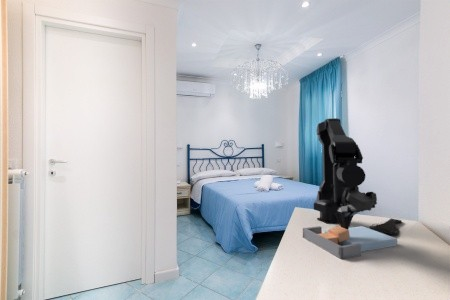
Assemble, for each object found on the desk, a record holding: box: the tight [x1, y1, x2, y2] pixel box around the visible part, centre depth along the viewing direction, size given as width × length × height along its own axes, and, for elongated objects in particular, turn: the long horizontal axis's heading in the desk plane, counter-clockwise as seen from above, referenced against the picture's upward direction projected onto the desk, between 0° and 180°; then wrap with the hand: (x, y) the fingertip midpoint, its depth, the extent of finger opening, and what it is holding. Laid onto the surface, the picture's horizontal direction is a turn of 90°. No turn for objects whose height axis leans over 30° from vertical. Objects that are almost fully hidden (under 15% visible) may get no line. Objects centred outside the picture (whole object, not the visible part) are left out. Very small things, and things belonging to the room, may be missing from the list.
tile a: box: [327, 225, 350, 242], centre depth 70 cm, size 4×4×2 cm
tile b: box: [318, 232, 338, 244], centre depth 69 cm, size 4×4×2 cm
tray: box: [302, 225, 362, 260], centre depth 69 cm, size 16×7×3 cm, turn 17°
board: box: [324, 225, 398, 252], centre depth 72 cm, size 12×16×2 cm
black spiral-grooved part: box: [369, 218, 403, 236], centre depth 85 cm, size 8×4×25 cm
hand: (345, 232), depth 70 cm, fingers closed
